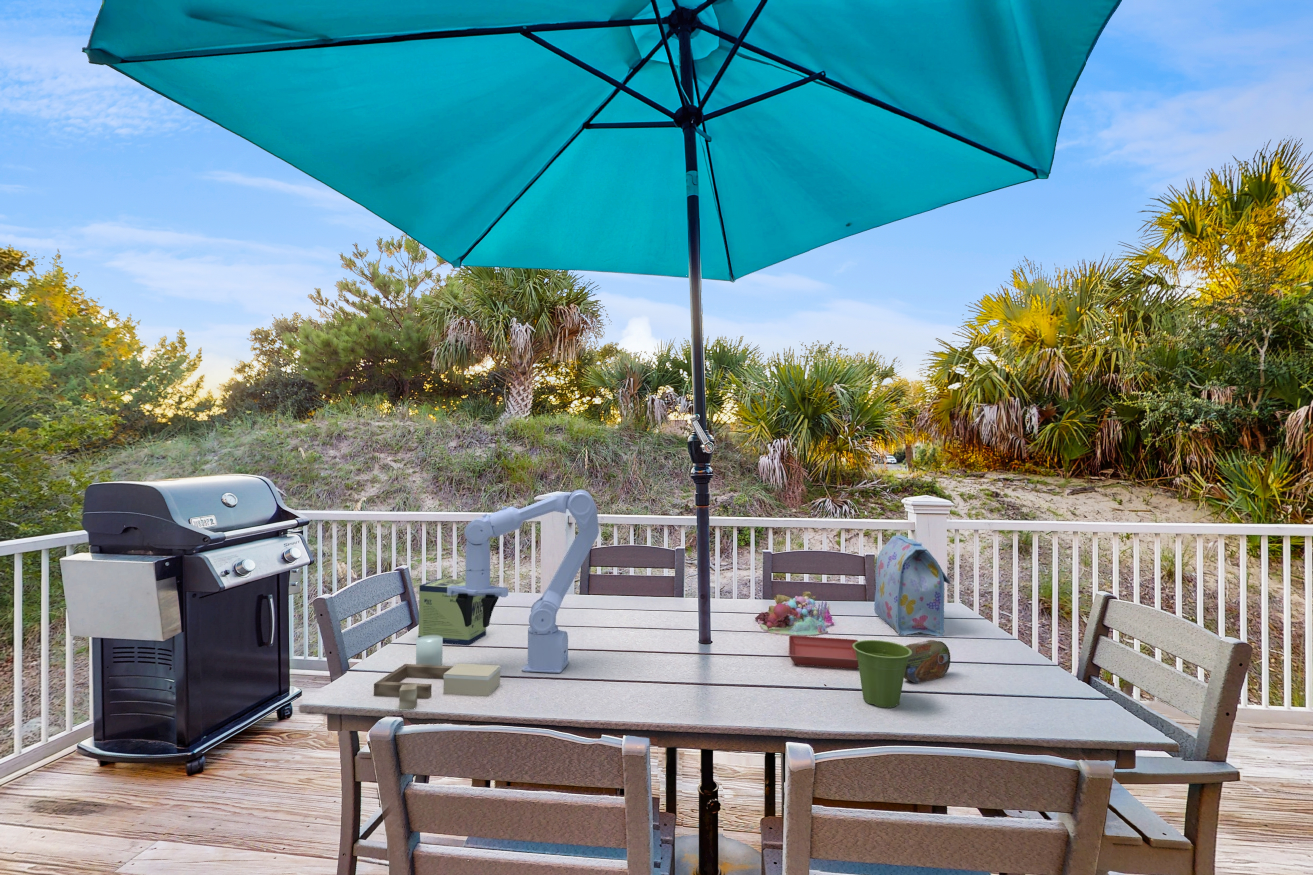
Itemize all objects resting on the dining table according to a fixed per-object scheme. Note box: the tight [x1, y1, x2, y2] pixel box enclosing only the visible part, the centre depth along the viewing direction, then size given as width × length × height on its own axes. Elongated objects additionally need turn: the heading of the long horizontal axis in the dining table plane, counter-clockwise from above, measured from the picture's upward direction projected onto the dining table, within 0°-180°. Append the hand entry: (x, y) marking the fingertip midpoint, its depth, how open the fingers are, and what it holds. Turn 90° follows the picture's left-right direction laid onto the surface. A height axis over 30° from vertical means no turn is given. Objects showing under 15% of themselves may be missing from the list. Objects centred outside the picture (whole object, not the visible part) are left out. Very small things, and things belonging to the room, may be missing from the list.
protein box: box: [417, 577, 487, 646], centre depth 179 cm, size 10×16×16 cm
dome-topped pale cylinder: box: [415, 635, 444, 666], centre depth 155 cm, size 6×6×7 cm
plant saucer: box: [788, 636, 859, 670], centre depth 164 cm, size 18×18×3 cm
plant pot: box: [852, 639, 912, 709], centre depth 135 cm, size 12×12×11 cm
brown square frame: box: [373, 663, 455, 700], centre depth 143 cm, size 12×13×2 cm
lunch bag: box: [873, 534, 951, 637], centre depth 194 cm, size 22×17×26 cm
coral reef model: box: [754, 591, 835, 637], centre depth 196 cm, size 25×24×9 cm
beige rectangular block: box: [442, 663, 502, 697], centre depth 141 cm, size 10×7×4 cm
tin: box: [904, 639, 951, 684], centre depth 149 cm, size 15×3×8 cm, turn 117°
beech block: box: [398, 684, 418, 710], centre depth 131 cm, size 3×3×4 cm
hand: (477, 625), depth 154 cm, fingers open, 4 cm apart
